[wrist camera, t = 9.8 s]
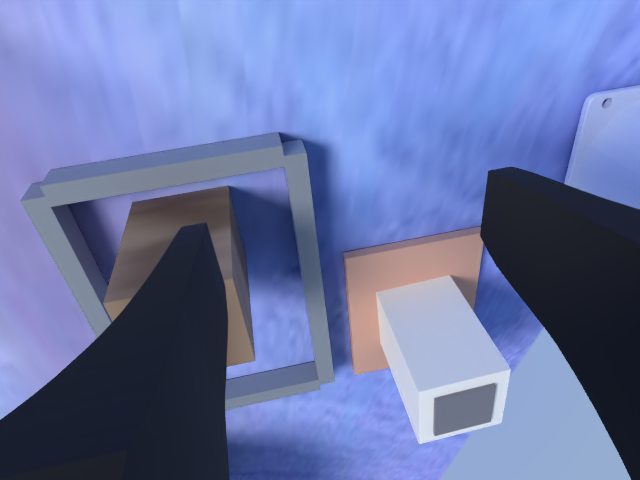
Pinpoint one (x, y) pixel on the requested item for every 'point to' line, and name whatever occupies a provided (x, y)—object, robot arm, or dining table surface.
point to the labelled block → (441, 359)
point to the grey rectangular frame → (176, 169)
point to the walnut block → (156, 235)
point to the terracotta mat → (403, 282)
